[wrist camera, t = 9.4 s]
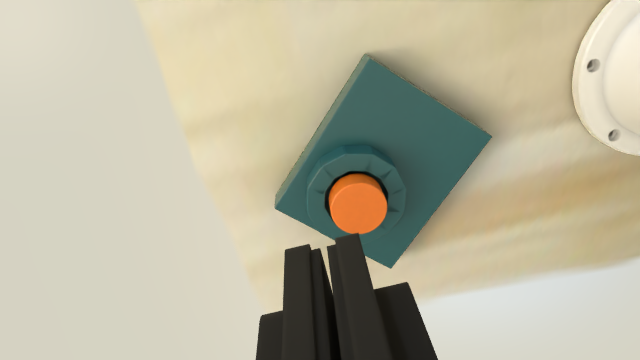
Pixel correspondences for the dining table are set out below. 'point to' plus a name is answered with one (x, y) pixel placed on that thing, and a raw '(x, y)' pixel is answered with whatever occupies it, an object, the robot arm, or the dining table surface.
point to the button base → (383, 157)
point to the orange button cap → (357, 203)
